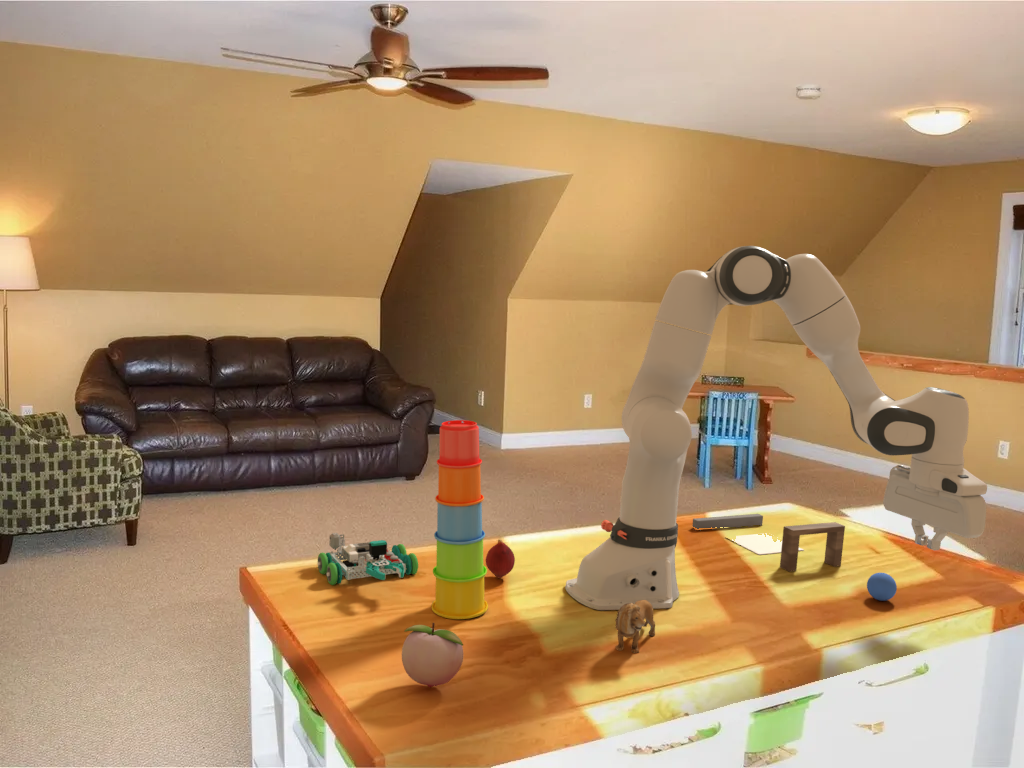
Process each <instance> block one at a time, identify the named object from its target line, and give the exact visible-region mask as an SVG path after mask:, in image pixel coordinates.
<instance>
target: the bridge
mask: <svg viewBox="0 0 1024 768" xmlns="http://www.w3.org/2000/svg"><path fill="white" fill-rule="evenodd" d="M845 529H846V526H845V525H843V524H841V523H839V522H836V521H835V522H834V521H833V522H820V523H808V524H797V525H785V526H783V531H782V538H781V539H782V549H781V553H780V563H779V568H781V569H783V570H786V571H787V572H797V568H798V557H799V551H798V549H799V548H800V537H801V536H804V535H818V534H819V535H820V534H826V540H825V541H826V542H825V550H824V551H825V552H824V560H823V562H824V563H825V564H827V565H829V566H832V567H834V568H835V567H841V566H842V558H843V550H844V549H843V548H844V540H845V539H844V538H845Z"/></svg>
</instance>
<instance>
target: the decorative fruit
mask: <svg viewBox="0 0 1024 768" xmlns="http://www.w3.org/2000/svg"><path fill="white" fill-rule="evenodd" d="M431 625H432V626H431V627H430V626H427V625H424V624H415V625H412V626H409V627H407V628H406V629H405V630H404V631H403V632H409V631H410V633H409V634H408V635H407V636H406V638H405V640H404V642H403V645H402V648H401V649H402V650H401V662H402V666H403V668H404V670H405V673H406V674H407V675H408V677H409V678H410V679H411V680H413V681H414V682H416V683H418V684H420V685H424V686H427V687H428V688H434V687H438V686H441V685H444V684H447V683H448V682H450V681H451V680H452V679H453V678H454V677H455V676H456V675H457V674H458V672H459V671H460V669H461V667H462V664H463V662H464V647H463V646H464V644H463V641H462V639H461V638H460V637H459V636H458V635H457V633H455V632H453V631H451V630H448V629H442V628H441V629H440V628H439V629H435V626H436V624H435V622H432V624H431Z"/></svg>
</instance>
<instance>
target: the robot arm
mask: <svg viewBox="0 0 1024 768" xmlns="http://www.w3.org/2000/svg"><path fill="white" fill-rule="evenodd" d="M662 297H663V298H662V300H661V301H660V305H659V306H658V310H657V313H656V316H655V320H654V323H653V327H652V330H651V333H650V337H649V340H648V344H647V347H646V350H645V354H644V357H643V360H642V363H641V366H640V368H639V370H638V372H637V374H636V375H635V379H634V381H633V383H632V386H631V388H630V391H629V393H628V397H627V399H626V402H625V404H624V405H623V408H622V412H621V425H622V429H623V431H624V434H626V437H627V438H628V439H629V446H628V453H627V461H626V464H625V465H626V466H625V470H624V474H623V477H622V480H621V492H620V503H619V504H620V506H619V507H620V508H619V517H618V518H617V520H616V521H615V523H614V524H613V522H610V520H607V519H604V520H603V521H602V522H601V524H600V528H601V529H602V530H603V531H605V532H606V533H610V535H609V537H608V539H605V541H604V542H602V543H601V544H600V545H598V546H597V547H596V548H595V549H593V550H592V551H591V552H589V553H588V554H586V555H585V556H584V557H582V560H581V561H580V564H579V568H578V570H577V571H578V572H577V577H576V578H571V579H567V580H566V582H565V586H564V587H565V590H566V592H567V593H568V595H569V596H571V597H572V598H573V599H574V600H576V601H577V602H578V603H579V604H582V605H583V606H586V607H587V608H591V609H593V610H597V611H610V610H611V611H615V610H617V611H619V610H620V608H621V607H622V606H623V605H624V604H626V603H633V604H635V602H637V601H640V600H647V601H648V602H649V603H651V605H652V607H653V609H670V608H672V607H673V602H674V601H675V600H676V599H678V597H680V591H679V587H678V582H677V573H676V557H675V556H676V554H675V553H676V547H677V543H678V535H679V534H678V531H679V524H678V523H677V517H678V507H679V506H678V504H679V492H680V485H681V479H682V476H683V471H684V467H685V462H686V459H687V453H688V449H689V447H690V444H691V441H692V437H693V436H692V435H693V433H692V431H693V430H692V425H691V422H690V419H689V417H688V415H687V413H686V412H685V411H684V410H683V407H684V405H685V403H686V400H687V398H688V397H689V394H690V392H691V389H692V387H693V386H694V384H695V382H697V380H698V379H699V377H700V375H701V373H702V369H703V367H704V362H705V358H706V356H707V352H708V349H709V346H710V342H711V340H712V336H713V332H714V329H715V325H716V322H717V319H718V317H719V315H720V313H721V311H723V309H724V308H725V307H726V306H727V305H735V306H739V307H748V306H754V305H759V304H763V303H767V302H770V301H771V302H773V303H775V304H776V305H777V306H779V308H780V309H781V310H782V312H783V313H784V314H785V317H786V319H787V320H788V322H789V323H790V325H791V326H792V328H793V329H794V332H795V333H796V334H797V336H798V337H799V339H800V340H801V341H802V342H803V343H804V345H805V346H806V348H808V349H809V351H811V353H812V354H813V355H814V356H816V357H817V358H818V359H819V360H820V361H821V363H823V364H824V365H825V367H827V369H828V370H829V372H830V373H831V375H832V377H833V378H834V380H835V382H836V384H837V386H838V387H839V390H840V391H841V392H842V395H843V396H844V398H845V400H846V402H847V404H848V407H849V414H850V423H851V427H852V431H853V432H854V434H855V435H856V437H857V438H858V439H859V440H860V441H862V442H863V443H865V444H866V445H869V446H870V447H871V448H873V449H874V450H876V452H879V453H881V454H882V455H886V456H891V457H892V456H909V455H911V459H910V467H907V466H905V465H902V464H897V465H896V466H893V467H892V468H891V469H890V470H889V475H888V476H889V478H888V480H887V482H886V483H887V484H886V486H885V491H884V493H883V494H884V496H883V501H882V503H883V507H884V509H885V510H887V511H888V512H892V513H894V514H896V515H900V516H902V517H905V518H909V519H911V522H910V524H911V527H912V530H913V533H914V535H915V537H914V543H915V544H916V545H920V546H926V548H928V549H930V550H933V551H939V550H940V549H941V544H942V543H941V542H942V541H943V540H944V539H945V537H946V536H947V535H948V533H951V534H954V535H957V536H960V537H962V538H965V539H974V538H976V539H977V538H980V537H981V536H982V535H983V533H984V531H985V529H986V519H987V504H986V500H985V498H984V497H983V496H982V495H985V494H986V493H987V492H988V485H987V484H986V483H985V481H983V480H981V479H980V478H978V477H977V476H975V475H974V474H972V473H971V472H970V471H969V470H967V469H966V468H964V466H965V457H964V448H965V445H966V444H967V442H968V433H969V419H970V416H969V413H970V411H969V403H968V401H967V399H966V397H964V396H963V395H962V394H959V393H957V392H955V391H954V392H953V391H950V390H947V389H944V388H938V387H934V386H928V387H925V388H924V387H923V389H922V390H920V391H918V392H916V393H915V394H913V395H910V396H908V397H905V398H901V399H897V400H895V399H893V398H892V396H891V397H890V396H889V395H888V394H886V393H885V392H884V391H882V389H881V388H880V387H879V386H878V384H877V382H876V381H875V379H874V377H873V375H872V373H871V372H870V370H869V369H868V367H867V366H866V363H865V362H864V360H863V358H862V356H861V353H860V350H859V337H860V335H861V324H860V321H859V318H858V316H857V313H856V311H855V309H854V306H853V305H852V302H851V301H850V298H849V297H848V296H847V294H846V292H845V290H844V289H843V288H842V285H841V284H840V283H839V282H838V280H837V279H836V278H835V276H834V275H833V274H832V272H831V271H830V270H829V269H828V268H827V266H825V264H824V263H823V262H822V261H821V260H820V259H819V258H818V257H817V256H815V255H813V254H809V253H800V254H795V255H793V256H790V257H787V258H786V259H784V258H783V257H780V256H779V255H777V254H775V253H773V252H772V251H769V250H767V249H766V248H763V247H760V246H755V245H742V246H737V247H735V248H732V249H730V250H728V251H726V253H724V254H723V255H722V256H721V257H719V258H718V259H717V260H716V261H715V262H714V263H713V265H712V266H710V268H708V269H707V270H706V271H703V270H697V269H686V270H682V271H679V272H677V273H676V274H675V275H674V276H673V277H672V279H671V281H670V283H669V284H668V285H667V288H666V290H665V292H664V295H663V296H662ZM925 525H929V526H932V527H933V533H935V534H934V535H933V537H932V538H929V536H928V535H927V534H926V532H925V528H924V526H925Z"/></svg>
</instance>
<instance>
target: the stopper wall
mask: <svg viewBox="0 0 1024 768" xmlns="http://www.w3.org/2000/svg"><path fill="white" fill-rule="evenodd" d="M763 520H764V515H762V514H759V513H750V514H738V515H724V516H714V517H713V516H712V517H711V516H710V517H709V516H708V517H698V518H692V526H693V527H695V528H697V529H699V528H711V527H712V528H715V527H717V528H720V527H723V528H724V527H736V528H742V527H741V526H748V527H754V526H753V525H760V526H763V523H764V521H763ZM692 526H691V527H692ZM724 529H725V528H724Z"/></svg>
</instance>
